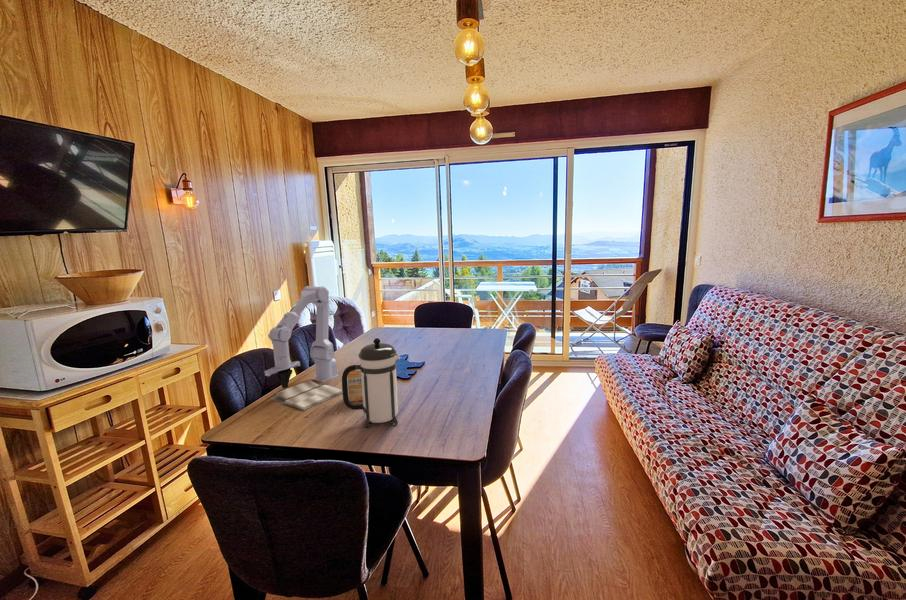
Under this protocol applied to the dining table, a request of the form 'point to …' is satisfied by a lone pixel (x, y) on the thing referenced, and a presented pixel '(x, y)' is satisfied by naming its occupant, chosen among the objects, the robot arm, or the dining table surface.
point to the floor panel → (311, 397)
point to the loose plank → (297, 390)
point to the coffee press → (375, 383)
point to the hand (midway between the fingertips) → (284, 387)
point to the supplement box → (355, 386)
